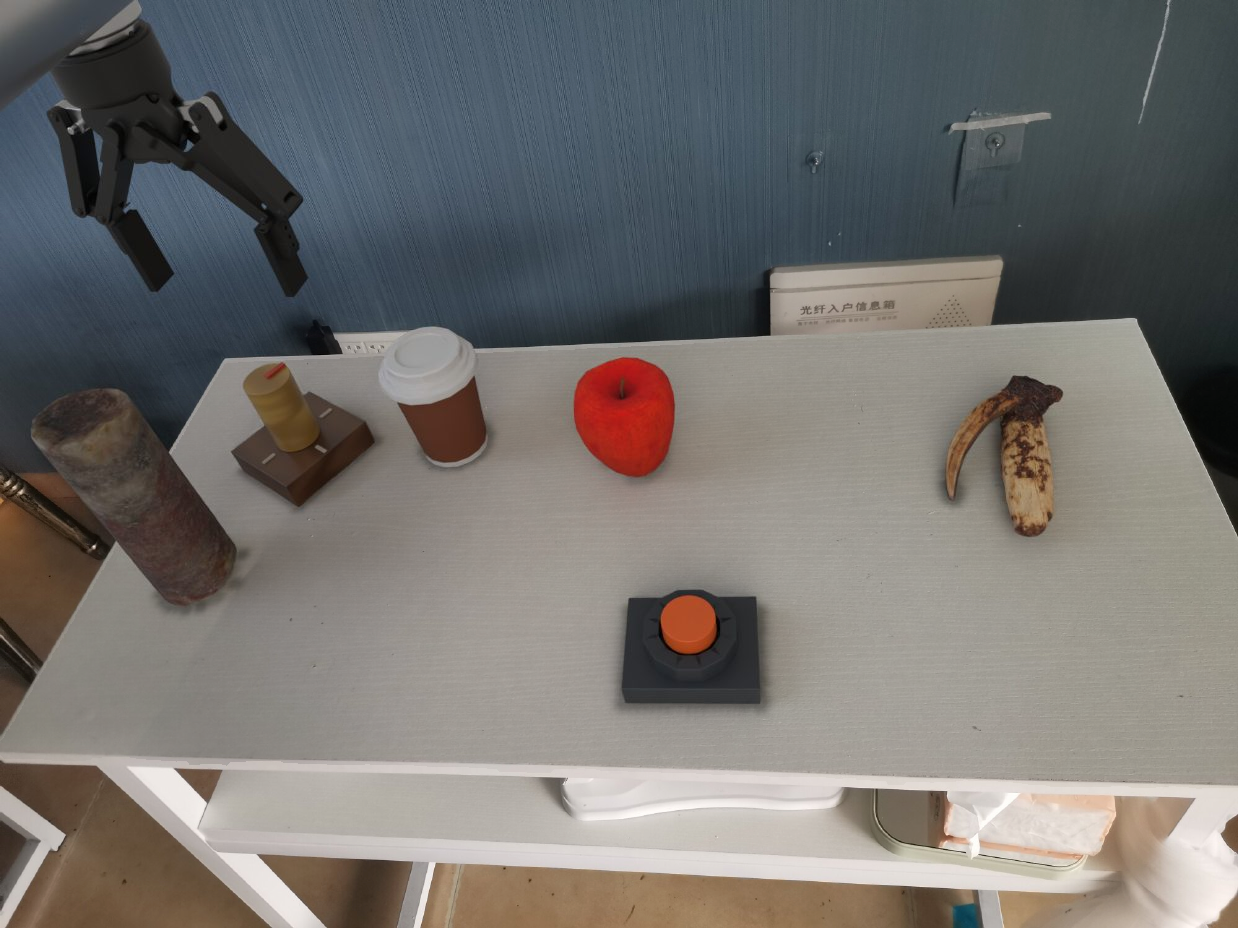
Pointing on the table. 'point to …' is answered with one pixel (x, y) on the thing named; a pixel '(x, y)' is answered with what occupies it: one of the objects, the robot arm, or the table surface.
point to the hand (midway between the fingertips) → (228, 285)
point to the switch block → (692, 655)
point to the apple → (626, 415)
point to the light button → (688, 624)
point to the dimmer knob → (281, 407)
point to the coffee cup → (437, 393)
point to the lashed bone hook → (1014, 450)
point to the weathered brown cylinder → (136, 492)
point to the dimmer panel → (306, 453)
